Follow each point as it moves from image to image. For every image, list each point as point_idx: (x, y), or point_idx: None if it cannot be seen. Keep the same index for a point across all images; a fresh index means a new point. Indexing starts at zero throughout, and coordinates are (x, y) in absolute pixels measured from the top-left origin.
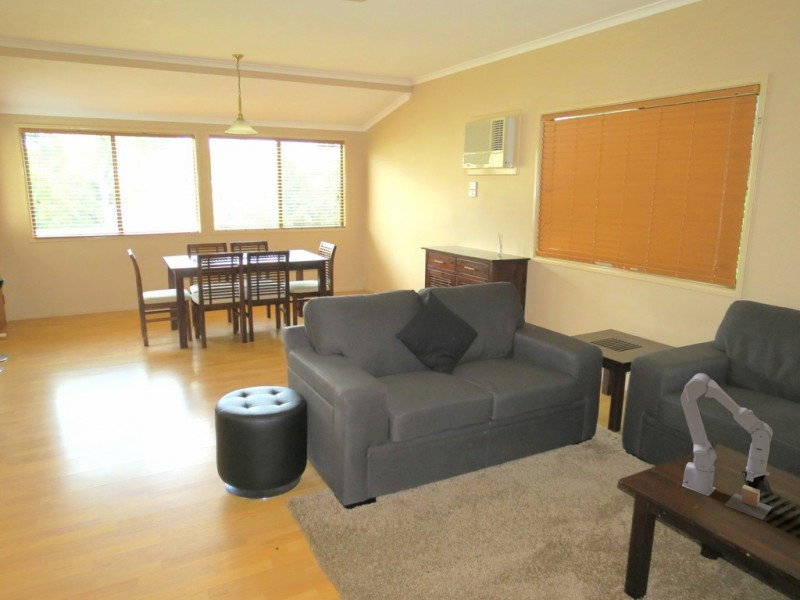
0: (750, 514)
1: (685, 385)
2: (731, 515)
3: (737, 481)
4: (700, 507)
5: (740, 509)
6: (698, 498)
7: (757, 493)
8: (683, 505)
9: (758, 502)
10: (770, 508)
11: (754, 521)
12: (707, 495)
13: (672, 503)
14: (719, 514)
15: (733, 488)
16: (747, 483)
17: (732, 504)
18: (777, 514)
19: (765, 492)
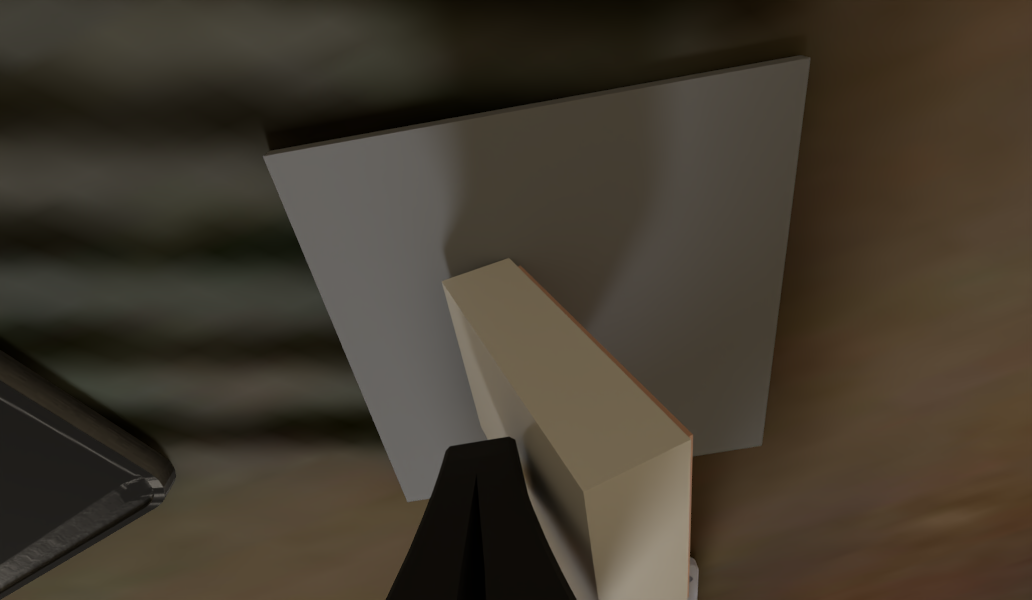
0: (774, 225)
1: None
2: (917, 325)
3: (132, 578)
4: (939, 501)
5: (735, 336)
6: (782, 563)
7: (682, 442)
8: (989, 556)
9: (498, 301)
10: (341, 151)
11: (893, 118)
12: (696, 565)
13: (1005, 590)
14: (974, 387)
15: (310, 539)
16: (67, 539)
17: (683, 418)
18: (381, 6)
19: (2, 380)
